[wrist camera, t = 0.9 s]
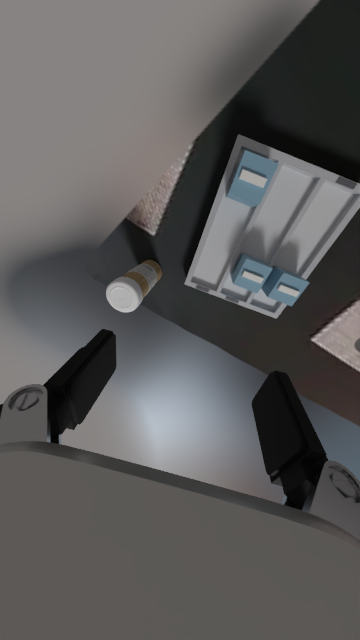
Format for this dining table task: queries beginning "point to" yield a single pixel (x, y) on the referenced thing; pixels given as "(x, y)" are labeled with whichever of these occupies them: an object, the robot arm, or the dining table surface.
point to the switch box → (272, 225)
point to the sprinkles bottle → (133, 286)
